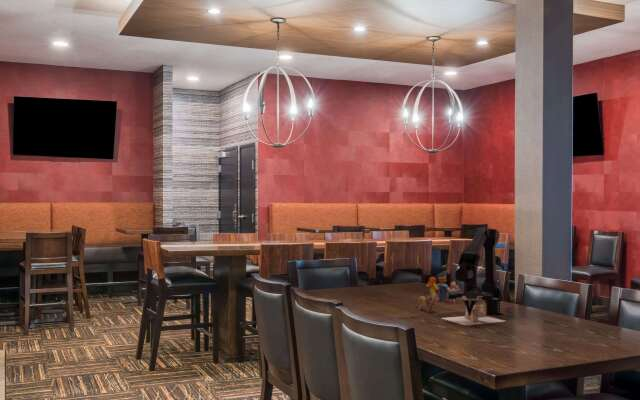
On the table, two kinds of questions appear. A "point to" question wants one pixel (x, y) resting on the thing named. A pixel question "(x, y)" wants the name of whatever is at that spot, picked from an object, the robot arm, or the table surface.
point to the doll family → (441, 288)
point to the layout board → (465, 321)
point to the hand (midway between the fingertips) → (469, 315)
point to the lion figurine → (427, 301)
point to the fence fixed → (481, 309)
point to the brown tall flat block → (472, 315)
